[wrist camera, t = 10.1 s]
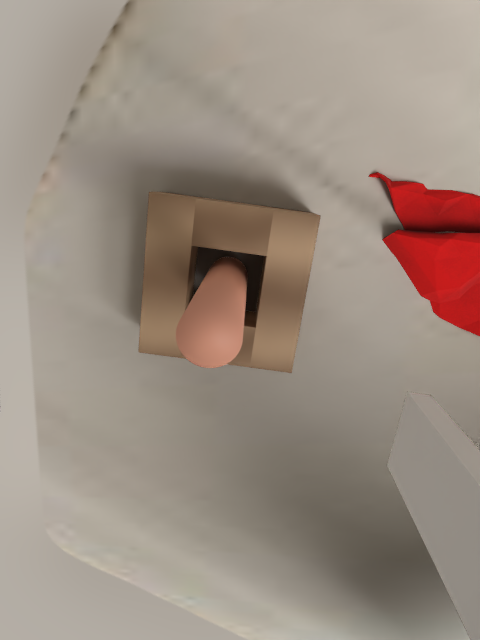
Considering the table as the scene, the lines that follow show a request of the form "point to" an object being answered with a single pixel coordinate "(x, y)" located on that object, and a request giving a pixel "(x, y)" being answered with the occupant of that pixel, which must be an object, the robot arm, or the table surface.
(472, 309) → the cloth
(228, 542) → the table surface
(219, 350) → the dowel
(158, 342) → the square frame
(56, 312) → the table surface
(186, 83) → the table surface
